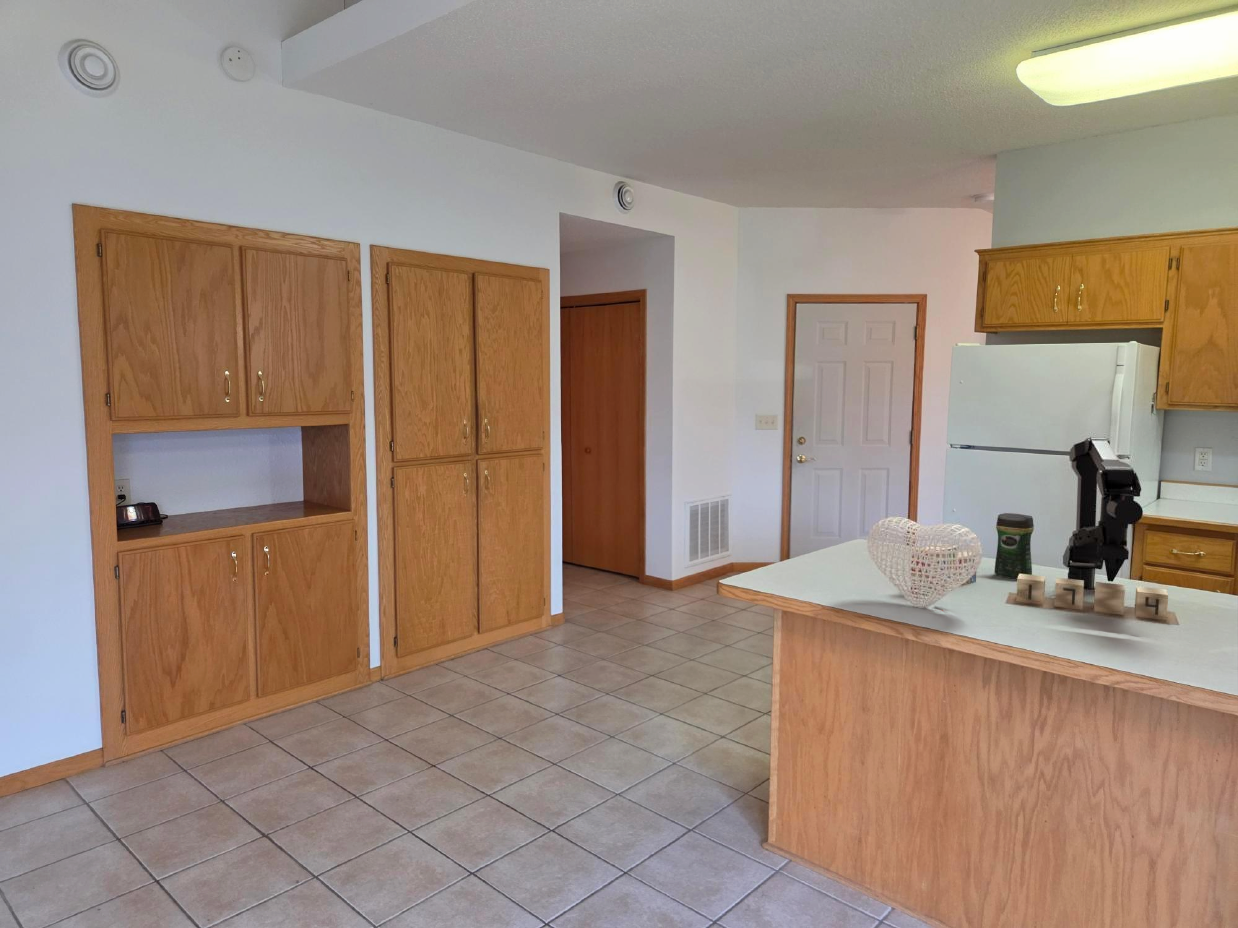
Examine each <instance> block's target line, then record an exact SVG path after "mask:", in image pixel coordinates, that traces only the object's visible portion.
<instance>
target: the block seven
mask: <svg viewBox="0 0 1238 928" xmlns="http://www.w3.org/2000/svg"><path fill="white" fill-rule="evenodd" d="M1084 590H1085V589H1084V580H1074V579H1068V578H1066V577H1065V578H1064V577H1056V578H1055V587H1054V598H1055V603H1054V606H1057V607H1065V608H1073V609H1081V610H1082V606H1083V601H1084V600H1083V599H1084Z"/></svg>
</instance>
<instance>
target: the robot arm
mask: <svg viewBox="0 0 1238 928" xmlns="http://www.w3.org/2000/svg"><path fill="white" fill-rule="evenodd" d="M1068 457H1069V461H1070V462H1071V463H1070V464H1071V466H1070V467H1071V469H1072V471H1073V472H1074V474H1075V475H1076V477H1077V492H1076V493H1077V494H1076V523H1075V525H1076V526H1075V530H1073V531H1072V533H1071V536H1070V537H1069V539H1068V545H1066V548H1065V551H1064V553H1063V555H1062V565H1063V566H1065V567H1066V568H1067V569H1068V571H1067V579H1074V580H1084V589H1083V590H1085V591H1086V590H1088V591H1095V582H1096V579H1095V578H1096V577H1095V576H1096V570H1101V571H1102V569H1103V566H1105V572H1106V578H1107V582H1114V580H1115V579H1116V577H1117V575H1118V574H1119V571H1120V570H1121V568H1122V566H1123V565H1124V563H1125V561H1126V560H1127V561H1128V560H1129V554H1130V550H1129V548H1128V547H1127V546H1128V529H1129V526H1130V525H1133V524H1136V523H1138V522H1139V521H1140V520H1141V519H1142V518H1143V514H1144V511H1143V507H1142V505H1141V504H1140V503H1139V502H1137V501H1135V500H1134V499H1135V497H1141V492H1142V486H1141V483H1140V479H1139V476H1138V475H1137V471H1135V470H1134V468H1133V467H1132V466H1131V465H1130V464H1129V463H1128V462H1124V461H1120V459H1119V458H1118V456H1117V454H1116V453H1115V451H1114V449H1113V448H1112V446H1111V441H1110V439H1109V438H1106V437H1095V436H1092V437H1091V436H1090V437H1087V438H1085V440H1084V441H1080V442H1077V443H1074V444H1073V446H1072V447H1071V448H1070V450H1069V456H1068ZM1098 489H1099V493H1100V495H1101V497H1100V498H1101V499H1100V501H1101V502H1100V514H1099V515H1100V517H1099V520H1098V521H1097V499H1098V497H1097V494H1098ZM1097 522H1098V524H1097Z"/></svg>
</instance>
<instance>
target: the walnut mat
mask: <svg viewBox="0 0 1238 928" xmlns="http://www.w3.org/2000/svg"><path fill="white" fill-rule="evenodd" d="M1016 596H1017V592H1008V595H1007V598H1006V600H1005V604H1010V605H1017V606H1025V607H1034V608H1041V609H1047V610H1056V611H1064V612H1071V613H1072V612H1073V613H1080V614H1088V615H1097V616H1104V617H1112V618H1119V619H1120V618H1121V619H1128V620H1135V621H1144V622H1150V623H1152V622H1153V623H1160V624H1166V625H1176V626H1180V623H1179V619H1178V618H1177V615H1176V612H1175V611H1169V610H1167V620H1161V619H1153V618H1145V617H1137V616H1136V615H1135V606H1128V605H1127V606H1126V605H1124V613H1123V615H1121V614H1113V613H1105V612H1097V611H1094V602H1093V601H1085V600H1083V606H1082V610H1081V609H1073V608H1065V607H1057V606H1054V603H1055V597H1051V596H1044V602H1043V605H1041V604H1032V603H1024V602H1016Z"/></svg>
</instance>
